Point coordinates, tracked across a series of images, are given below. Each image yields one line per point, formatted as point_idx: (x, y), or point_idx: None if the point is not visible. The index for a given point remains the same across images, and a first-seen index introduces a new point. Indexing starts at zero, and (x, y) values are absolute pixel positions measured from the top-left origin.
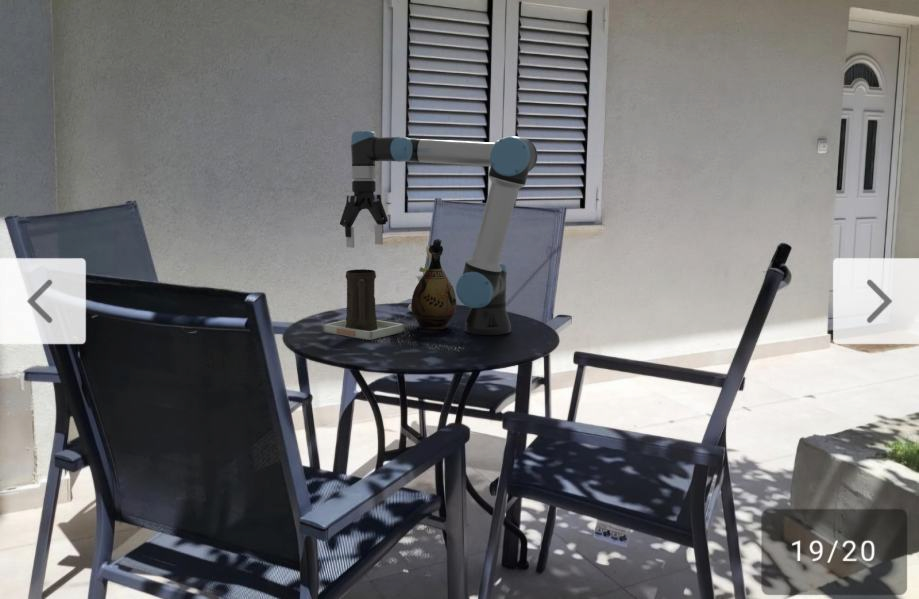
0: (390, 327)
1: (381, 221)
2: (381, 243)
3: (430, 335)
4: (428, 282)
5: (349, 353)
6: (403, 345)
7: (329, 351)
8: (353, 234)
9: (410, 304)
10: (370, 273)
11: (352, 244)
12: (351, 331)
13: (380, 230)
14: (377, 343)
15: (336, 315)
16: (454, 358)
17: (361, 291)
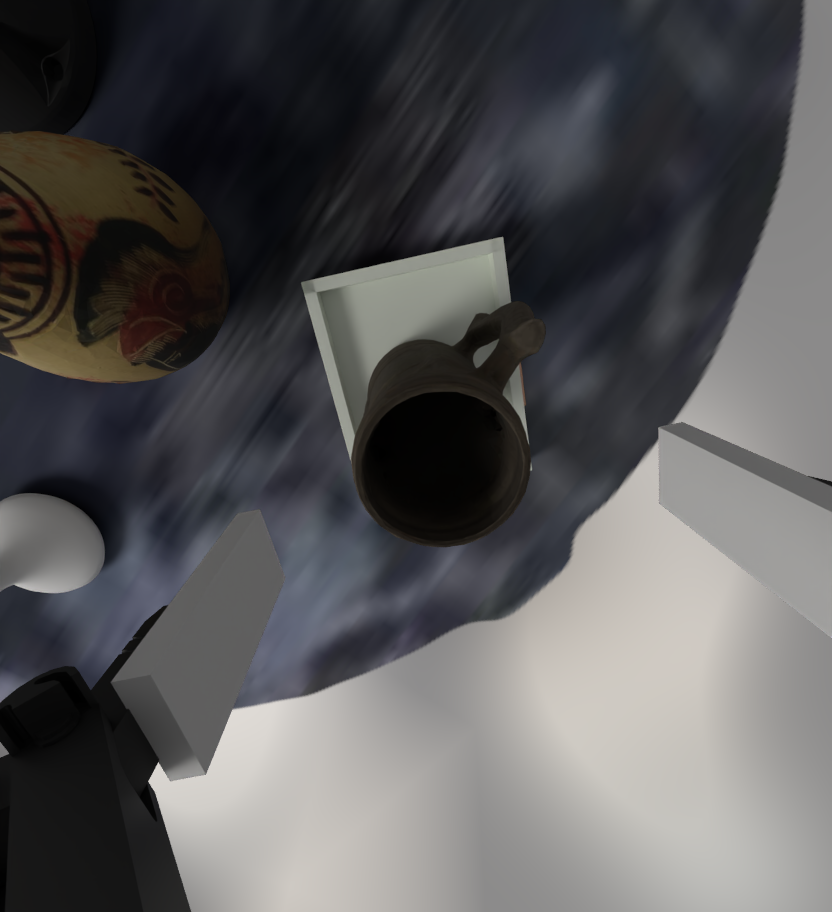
0: (385, 264)
1: (88, 743)
2: (251, 515)
3: (265, 145)
4: (80, 210)
5: (704, 80)
6: (468, 49)
7: (722, 170)
8: (779, 477)
9: (84, 569)
10: (434, 383)
11: (703, 435)
12: None
13: (200, 613)
14: (516, 166)
15: (336, 645)
16: None
17: (531, 310)
